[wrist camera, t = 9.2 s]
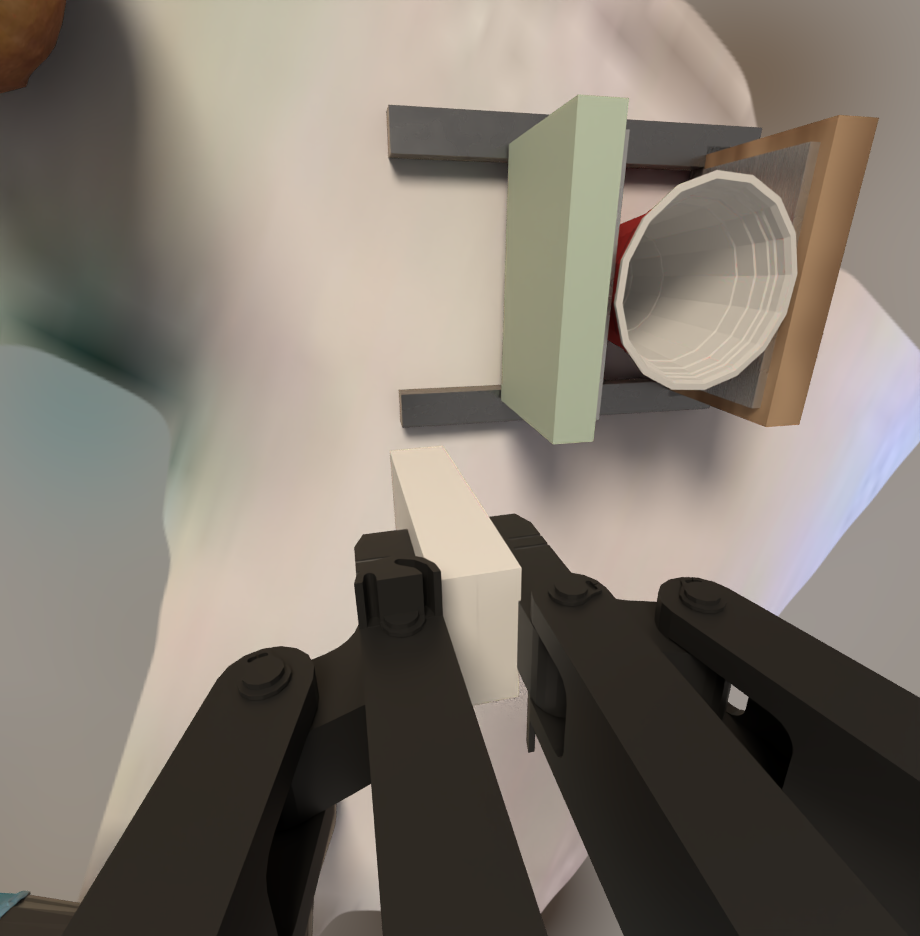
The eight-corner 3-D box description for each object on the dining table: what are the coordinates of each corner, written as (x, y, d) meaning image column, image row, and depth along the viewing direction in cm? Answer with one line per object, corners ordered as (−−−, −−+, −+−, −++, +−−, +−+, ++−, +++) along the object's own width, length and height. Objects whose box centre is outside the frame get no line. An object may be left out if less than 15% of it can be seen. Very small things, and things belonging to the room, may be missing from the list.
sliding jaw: (500, 400, 37) (552, 444, 28) (508, 143, 31) (578, 94, 22) (540, 398, 38) (603, 440, 29) (555, 146, 32) (641, 99, 23)
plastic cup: (548, 172, 33) (676, 131, 22) (673, 223, 37) (831, 209, 27) (502, 338, 36) (596, 371, 26) (622, 369, 40) (746, 408, 30)
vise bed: (400, 421, 38) (422, 481, 27) (386, 111, 31) (409, 33, 20) (697, 403, 43) (812, 448, 32) (745, 133, 36) (914, 78, 25)
